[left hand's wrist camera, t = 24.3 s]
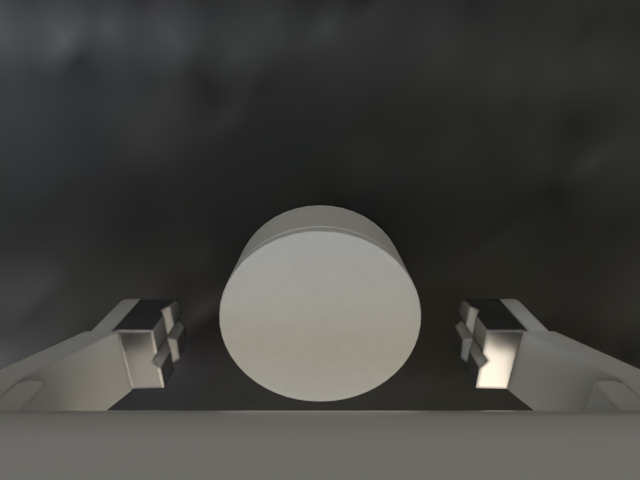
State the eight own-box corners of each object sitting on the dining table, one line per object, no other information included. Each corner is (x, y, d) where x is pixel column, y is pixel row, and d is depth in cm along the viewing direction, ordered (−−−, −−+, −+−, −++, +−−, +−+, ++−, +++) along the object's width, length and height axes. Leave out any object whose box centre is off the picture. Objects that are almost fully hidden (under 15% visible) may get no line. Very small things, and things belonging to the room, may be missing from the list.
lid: (268, 177, 11) (255, 198, 9) (433, 242, 12) (459, 276, 10) (217, 322, 13) (196, 369, 11) (360, 369, 14) (368, 422, 12)
